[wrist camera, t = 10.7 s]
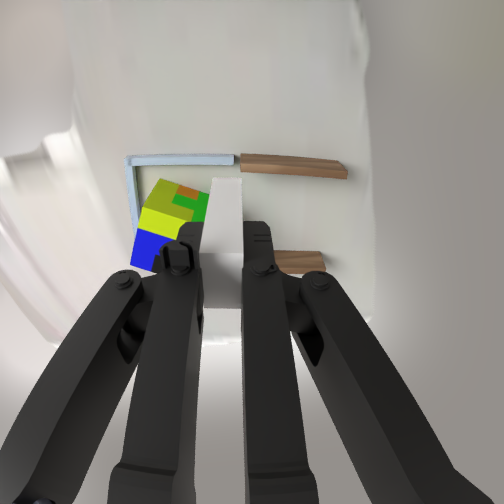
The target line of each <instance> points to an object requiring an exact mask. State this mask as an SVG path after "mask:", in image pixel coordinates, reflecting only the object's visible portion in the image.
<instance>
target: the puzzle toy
mask: <svg viewBox="0 0 504 504" xmlns="http://www.w3.org/2000/svg"><path fill="white" fill-rule="evenodd" d="M208 201H209V194H206V193H203V192H200V191H197V190H194V189H191V188H188V187H185V186H182V185H179V184H175V183H172V182H169V181H166V180H163V179H159V181H158V182H157V184H156V185H155V187H154V188H153V190H152V192H151V193H150V195H149V197H148V198H147V200H146V201H145V203H144V205H143V206H142V210H141V215H140V219H139V223H138V228H137V232H136V237H135V242H134V247H133V252H132V257H131V262H130V265H132V266H135V267H138V268H141V269H144V270H148V271H151V272H154V273H157V274H158V273H160V272H161V271H162V265H161V260H160V254H159V249H160V248H161V246H162V245H164V244H165V243H167V242H169V241H172V240H176V238H177V235H178V231H179V228H180V227H181V226H182V225H183V224H184V223H185V222H205V216H206V211H207V206H208Z"/></svg>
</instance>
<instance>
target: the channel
mask: <svg viewBox="0 0 504 504" xmlns="http://www.w3.org/2000/svg"><path fill="white" fill-rule="evenodd" d="M240 168H241V172H251V173H272V174H288V175H303V176H315V177H326V178H337V179H347V174H348V171H347V170H346V169H345V168H344V167H343V166H342V165H341V164H340V163H339V162H338V161H335V160H326V159H316V158H305V157H293V156H279V155H263V154H241V157H240ZM274 256H275V262H276V264H277V265H278V267H279V269H280V270H281V271H282V272H283V273H285V274H306V273H307V272H310V271H323V272H325V271H326V267H325V264H324V262H323V259H322V257H321V254H320V252H318V251H280V250H274Z"/></svg>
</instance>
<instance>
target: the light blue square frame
mask: <svg viewBox="0 0 504 504" xmlns="http://www.w3.org/2000/svg"><path fill="white" fill-rule="evenodd" d="M233 163H234V155H232V154H160V155H135V156H127V157H126V158H124V164H125V173H126V182H127V190H128V198H129V205H130V212H131V219H132V225H133V231H134V237H136V232H137V228H138V223H139V219H140V215H141V214H140V206H139V198H138V189H137V180H136V169H135V166H141V165H233Z"/></svg>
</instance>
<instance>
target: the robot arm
mask: <svg viewBox="0 0 504 504" xmlns="http://www.w3.org/2000/svg"><path fill="white" fill-rule="evenodd" d="M159 254H160V260H161V265H162V271H161V272H160V273H158V274H156V275H152V276H148V277H144V278H141V276H140V275H139V274H138V272H136V271H133V270H121V271H118V272H116V273H114V274H113V275H112V276H110V277H109V278H108V280H107V281H106V282H105V284H104V285H103V286H102V287H101V289H100V290H99V291H98V293H97V294H96V295H95V297H94V298H93V299H92V301H91V302H90V303H89V305H88V306H87V308H86V309H85V310H84V312H83V313H82V314H81V316H80V317H79V319H78V320H77V322H76V323H75V324H74V326H73V327H72V329H71V330H70V332H69V333H68V334H67V336H66V337H65V339H64V340H63V342H62V343H61V345H60V346H59V348H58V349H57V351H56V352H55V354H54V356H53V357H52V359H51V360H50V362H49V363H48V365H47V366H46V368H45V370H44V371H43V373H42V375H41V376H40V378H39V379H38V381H37V383H36V384H35V386H34V388H33V390H32V391H31V393H30V395H29V396H28V398H27V400H26V402H25V403H24V405H23V407H22V409H21V411H20V412H19V414H18V416H17V418H16V420H15V422H14V424H13V426H12V427H11V429H10V431H9V433H8V435H7V437H6V439H5V441H4V443H3V445H2V448H1V450H0V504H72V503H73V502H74V500H75V498H76V496H77V494H78V492H79V490H80V488H81V486H82V483H83V481H84V478H85V476H86V474H87V471H88V469H89V467H90V464H91V462H92V460H93V458H94V455H95V453H96V450H97V448H98V446H99V444H100V442H101V440H102V437H103V435H104V433H105V431H106V429H107V426H108V424H109V422H110V420H111V418H112V416H113V414H114V412H115V409H116V407H117V405H118V403H119V401H120V399H121V396H122V395H123V393H124V391H125V389H126V387H127V385H128V383H129V381H130V378H131V377H132V375H133V373H134V371H135V368H136V367H137V365H138V367H137V373H136V377H135V382H134V387H133V392H132V397H131V403H130V409H129V414H128V420H127V426H126V432H125V439H124V446H123V453H122V458H121V460H120V462H119V463H118V464H117V465H116V466H115V467H114V468H113V470H112V472H111V476H110V481H109V490H108V500H107V504H196V492H195V487H194V466H195V440H196V418H197V400H198V385H199V371H200V357H201V345H202V333H203V322H204V316H203V303H204V308H241V336H242V385H243V428H244V460H245V462H244V463H245V504H319V498H318V490H317V484H316V480H315V477H314V474H313V473H312V471H311V470H310V468H309V465H308V459H307V451H306V443H305V435H304V427H303V420H302V412H301V405H300V398H299V390H298V383H297V376H296V369H295V362H294V356H293V349H292V342H291V336H290V331H291V332H292V336H293V338H294V340H295V342H296V344H297V346H298V348H299V350H300V352H301V355H302V357H303V359H304V361H305V363H306V365H307V367H308V370H309V372H310V374H311V376H312V378H313V380H314V382H315V384H316V386H317V388H318V391H319V393H320V395H321V397H322V399H323V401H324V404H325V406H326V408H327V410H328V412H329V414H330V416H331V418H332V421H333V423H334V425H335V426H336V429H337V431H338V433H339V435H340V438H341V439H342V442H343V444H344V446H345V448H346V450H347V453H348V454H349V457H350V459H351V461H352V463H353V465H354V467H355V470H356V472H357V474H358V476H359V478H360V480H361V482H362V484H363V486H364V489H365V491H366V493H367V495H368V497H369V499H370V500H371V502H372V504H494V503H493V501H492V500H491V499H490V498H489V497H488V496H486V495H485V494H484V493H483V492H482V491H480V490H479V489H478V488H477V487H476V486H474V485H473V484H472V483H471V482H469V481H468V480H467V479H466V478H465V477H464V476H462V475H461V474H460V473H459V472H458V471H456V470H455V469H454V468H453V465H452V464H451V462H450V460H449V458H448V456H447V454H446V452H445V451H444V449H443V447H442V445H441V443H440V442H439V440H438V438H437V436H436V434H435V433H434V431H433V429H432V428H431V426H430V424H429V422H428V421H427V419H426V417H425V415H424V414H423V412H422V410H421V409H420V407H419V405H418V404H417V402H416V400H415V399H414V397H413V395H412V394H411V392H410V390H409V389H408V387H407V385H406V384H405V383H404V381H403V379H402V377H401V376H400V374H399V373H398V371H397V370H396V368H395V366H394V365H393V363H392V362H391V360H390V358H389V357H388V355H387V354H386V352H385V351H384V349H383V348H382V346H381V345H380V343H379V341H378V340H377V339H376V337H375V335H374V334H373V332H372V331H371V329H370V328H369V327H368V325H367V323H366V322H365V320H364V319H363V317H362V316H361V314H360V313H359V311H358V310H357V309H356V307H355V306H354V304H353V303H352V301H351V300H350V298H349V297H348V295H347V294H346V293H345V291H344V290H343V288H342V287H341V285H340V284H339V283H338V281H337V280H336V279H335V278H334V277H333V276H332V275H330V274H329V273H327V272H323V271H310V272H307V273H306V274H305V275H303V276H302V278H298V277H293V276H290V275H287V274H285V273H283V272H282V271H281V270H280V269H279V267H278V265H277V264H276V262H275V256H274V250H273V244H272V237H271V231H270V227H269V226H268V225H267V224H266V223H265V222H264V221H243V214H242V178H228V177H213V180H212V185H211V190H210V195H209V201H208V206H207V211H206V216H205V222H185V223H184V224H183V225H182V226H181V227H180V228H179V231H178V235H177V238H176V240H172V241H169V242H167V243H165V244H164V245H162V246H161V248H160V249H159Z"/></svg>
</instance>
